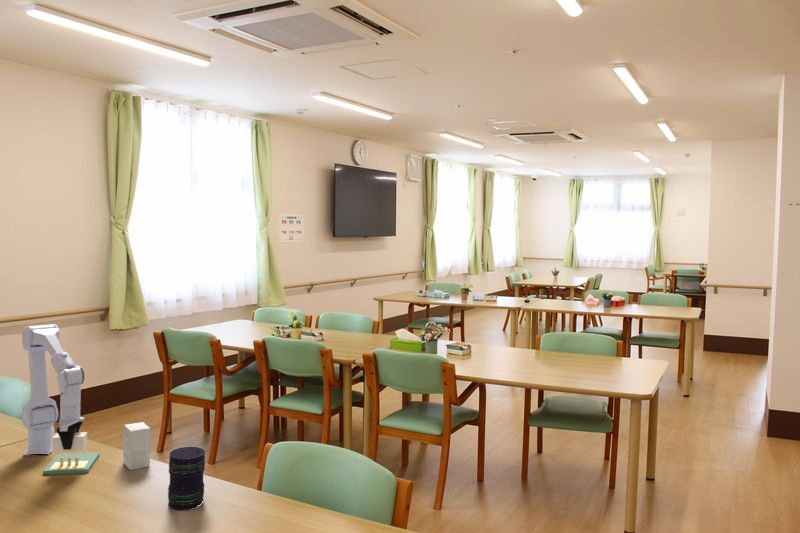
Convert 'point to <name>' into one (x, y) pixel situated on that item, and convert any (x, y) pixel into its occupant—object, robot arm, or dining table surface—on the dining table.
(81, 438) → the block
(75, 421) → the robot arm
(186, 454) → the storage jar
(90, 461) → the board
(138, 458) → the small box
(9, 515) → the dining table surface
